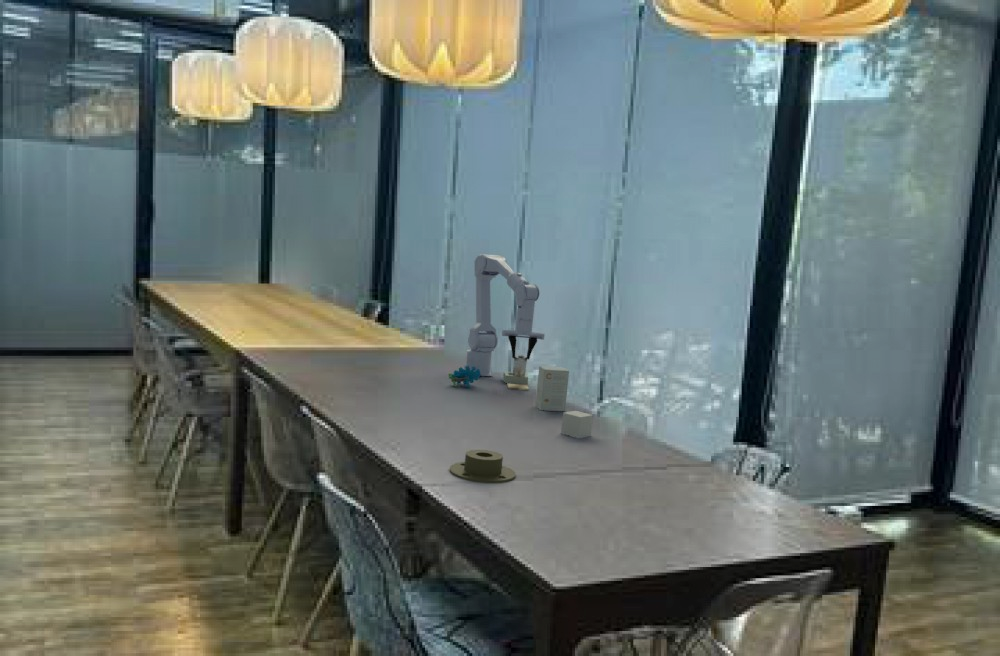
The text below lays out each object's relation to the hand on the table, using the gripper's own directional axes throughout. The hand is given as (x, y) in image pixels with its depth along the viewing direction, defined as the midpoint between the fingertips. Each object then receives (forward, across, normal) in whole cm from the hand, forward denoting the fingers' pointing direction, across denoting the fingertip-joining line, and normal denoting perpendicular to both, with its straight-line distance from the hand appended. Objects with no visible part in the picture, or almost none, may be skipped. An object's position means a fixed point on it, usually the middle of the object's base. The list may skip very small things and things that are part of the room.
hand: (520, 358), depth 314 cm
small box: (+11, +7, -32) cm, 34 cm away
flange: (+11, -19, -108) cm, 111 cm away
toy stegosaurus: (+11, -19, -5) cm, 22 cm away
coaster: (+10, 0, 0) cm, 10 cm away
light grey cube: (+11, +10, -64) cm, 65 cm away
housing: (+10, 0, +10) cm, 14 cm away
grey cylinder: (+6, 0, 0) cm, 6 cm away
